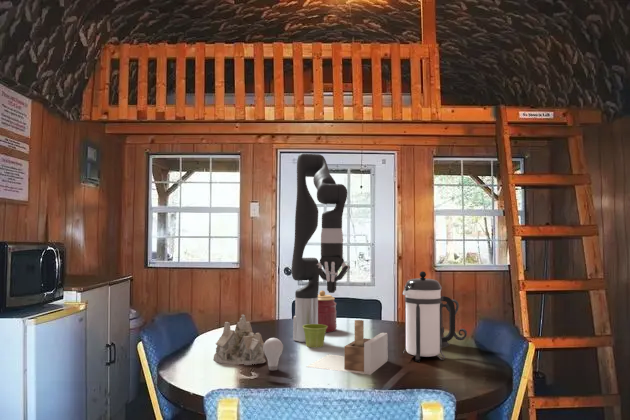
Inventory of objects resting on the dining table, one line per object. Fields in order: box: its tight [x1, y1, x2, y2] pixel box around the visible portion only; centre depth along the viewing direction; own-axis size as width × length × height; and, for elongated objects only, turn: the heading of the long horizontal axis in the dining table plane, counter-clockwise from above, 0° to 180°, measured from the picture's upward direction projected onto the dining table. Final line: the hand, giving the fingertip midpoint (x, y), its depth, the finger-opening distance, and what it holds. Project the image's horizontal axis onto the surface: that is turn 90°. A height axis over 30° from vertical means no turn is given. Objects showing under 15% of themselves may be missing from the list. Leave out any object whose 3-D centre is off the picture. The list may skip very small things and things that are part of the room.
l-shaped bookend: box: [306, 332, 389, 375], centre depth 166 cm, size 21×18×10 cm
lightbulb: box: [263, 337, 284, 371], centre depth 159 cm, size 6×6×11 cm
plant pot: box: [302, 324, 328, 349], centre depth 192 cm, size 9×9×9 cm
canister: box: [318, 290, 338, 333], centre depth 232 cm, size 13×13×18 cm
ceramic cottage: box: [213, 314, 266, 366], centre depth 176 cm, size 16×16×15 cm
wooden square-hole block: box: [343, 337, 371, 372], centre depth 164 cm, size 7×14×7 cm, turn 156°
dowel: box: [353, 319, 365, 347], centre depth 161 cm, size 3×3×12 cm
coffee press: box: [401, 270, 456, 363], centre depth 182 cm, size 17×16×30 cm
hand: (331, 292), depth 176 cm, fingers closed
